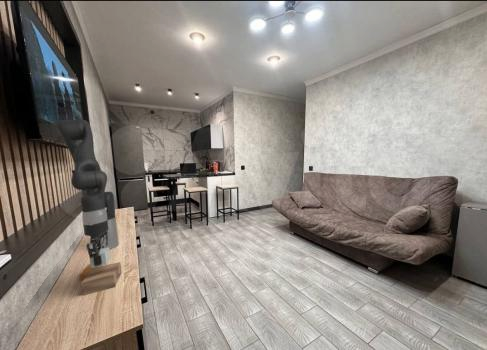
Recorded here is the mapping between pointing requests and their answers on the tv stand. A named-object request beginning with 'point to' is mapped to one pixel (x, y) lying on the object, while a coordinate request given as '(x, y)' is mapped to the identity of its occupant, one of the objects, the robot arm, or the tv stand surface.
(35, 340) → the tv stand surface
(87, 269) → the pastry
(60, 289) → the tv stand surface
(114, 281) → the tan square block
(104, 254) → the grey cube
